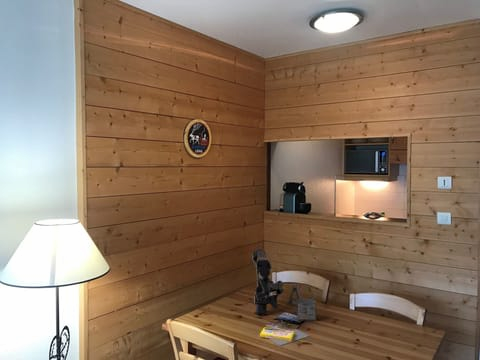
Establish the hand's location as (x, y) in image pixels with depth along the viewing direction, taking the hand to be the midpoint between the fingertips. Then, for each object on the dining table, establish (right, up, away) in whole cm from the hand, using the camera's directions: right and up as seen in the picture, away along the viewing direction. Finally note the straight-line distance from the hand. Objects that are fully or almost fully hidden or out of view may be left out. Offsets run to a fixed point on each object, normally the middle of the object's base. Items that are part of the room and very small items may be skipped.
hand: (276, 309), depth 204 cm
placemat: (+5, -10, -11) cm, 16 cm away
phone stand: (+15, -9, +37) cm, 41 cm away
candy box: (+1, -9, -6) cm, 11 cm away
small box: (+18, -10, +13) cm, 24 cm away
